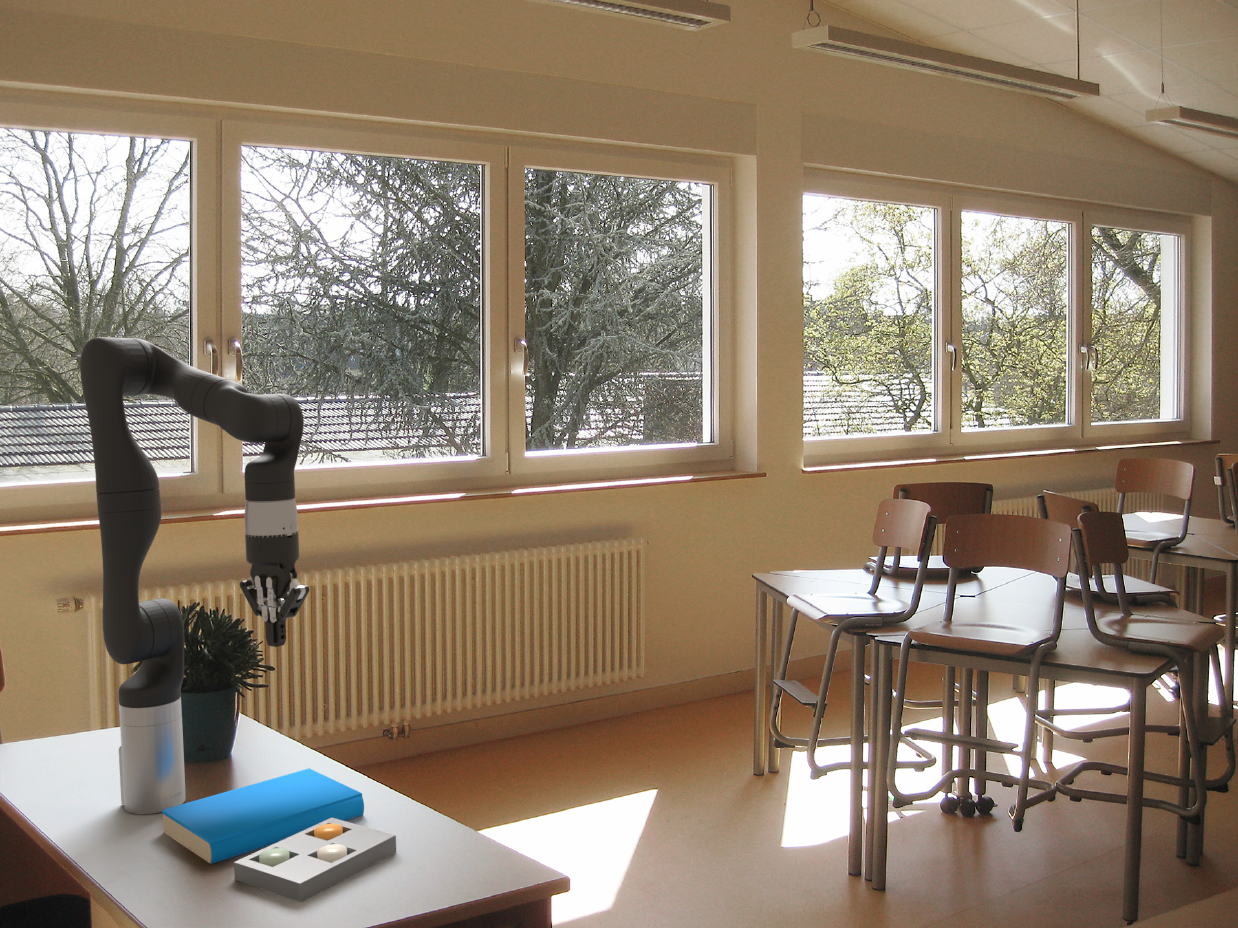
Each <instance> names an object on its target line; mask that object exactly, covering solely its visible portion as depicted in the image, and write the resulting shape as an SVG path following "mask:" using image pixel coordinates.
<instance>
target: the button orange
mask: <svg viewBox="0 0 1238 928" xmlns="http://www.w3.org/2000/svg"><path fill="white" fill-rule="evenodd" d="M341 834H343V830H342V826H341V825H339V824H324V825H321V826H318V827H316V828H315V829H314V837H316V838H320V839H323V840H327V841H328V840H331V839H333V838H335V837H337V836H339V835H341Z"/></svg>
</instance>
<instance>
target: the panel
mask: <svg viewBox="0 0 1238 928" xmlns="http://www.w3.org/2000/svg"><path fill="white" fill-rule="evenodd" d="M324 824H339V825H341V826H342V830H343V834H341V835H339V836H337V837H335V838H333V839H331V840H328V841H327V840H323V839H320V838H316V837H314V829H315V828H316V827H318V826H321V825H324ZM331 844H340V845H344V846H346V847H347V856H345V857H343V858H341V859H339V860H337V861H335V862H333V863H330V862H327V861H323V860H320V859H317V851H318V849H320V848H321V847H323V846H326V845H331ZM274 848H284V849H287V850H289V857H290V859H289V860H287V861H284V862H282V863H280V864H278V865H276V866H274V867H271V866H267V865H264V864H261V863H259V855H260V854H261V853H262V852H264V851H266V850H269V849H274ZM396 852H397V835H396V834H393V833H389V832H386V831H382V830H378V829H375V828H371V827H368V826H364V825H360V824H356V823H353V822H349V821H347V820H345V821H342V820H339V819H335V818H330V819H328V820H325V821H323V822H321V823H319V824H317V825H314V826H312V827H310V828H308V829H306V830H303V831H301V832H299V833H297V834H295V835H292V836H290V837H288V838H286V839H284V840H281V841H279V842H277V843H274V844H271V845H268V846H265V847H263V848H261V849H258V851H255V852H254V853H253V852H252V853H251V854H249V855H247V856H245V857H242V858H240V859H238V860H236V861H234V862H233V870H234V872H233V873H234V880H235V881H237V882H240V883H243V884H247V885H248V886H253V887H255V888H258V889H261V890H265V891H267V892H271V893H273V894H276V895H278V896H279V895H280V896H282V897H285V898H287V899H291V900H293V901H297V902H303V901H306V900H307V899H309V898H311V897H313V896H315V895H317V894H318V893H321V892H323V891H324V890H326V889H329V888H330V887H332V886H334V885H336V884H338V883H341V882H342V881H344V880H345V879H347V878H349V877H351V876H353V875H355V874H357V873H359V872H361V871H363V870H365V869H366V868H368V867H370V866H372V865H374V864H376V863H378V862H380V861H382V860H384V859H387V858H388V857H390V856H391V855H393V854H396Z"/></svg>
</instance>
